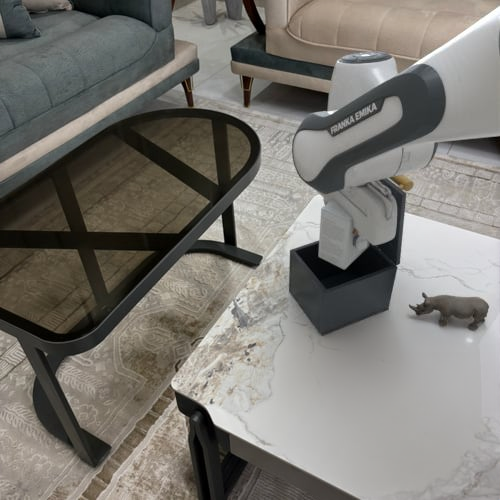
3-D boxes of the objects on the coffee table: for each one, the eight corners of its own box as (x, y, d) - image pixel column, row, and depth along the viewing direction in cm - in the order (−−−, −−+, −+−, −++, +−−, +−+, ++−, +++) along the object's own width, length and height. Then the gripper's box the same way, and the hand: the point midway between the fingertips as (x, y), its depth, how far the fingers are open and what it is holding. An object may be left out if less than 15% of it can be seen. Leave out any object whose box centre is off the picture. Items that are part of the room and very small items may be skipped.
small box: (342, 234, 91) (348, 185, 84) (369, 247, 88) (377, 197, 81) (316, 257, 86) (320, 207, 79) (344, 271, 83) (350, 220, 76)
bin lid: (402, 195, 75) (428, 184, 76) (355, 158, 84) (379, 148, 85) (396, 265, 85) (419, 255, 87) (355, 226, 94) (376, 217, 95)
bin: (321, 336, 89) (325, 293, 82) (288, 291, 97) (289, 249, 90) (388, 309, 93) (397, 267, 86) (351, 269, 101) (357, 227, 95)
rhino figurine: (405, 307, 93) (411, 284, 89) (483, 315, 91) (492, 292, 87) (406, 323, 90) (412, 300, 86) (487, 333, 88) (496, 309, 84)
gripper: (414, 189, 69) (399, 264, 78) (335, 129, 83) (330, 198, 92) (376, 201, 67) (365, 276, 76) (302, 138, 82) (300, 207, 90)
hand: (345, 233), depth 84 cm, fingers closed on small box, 7 cm apart
